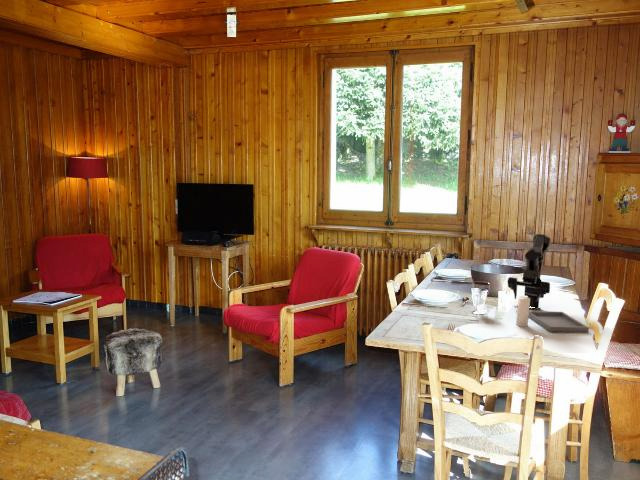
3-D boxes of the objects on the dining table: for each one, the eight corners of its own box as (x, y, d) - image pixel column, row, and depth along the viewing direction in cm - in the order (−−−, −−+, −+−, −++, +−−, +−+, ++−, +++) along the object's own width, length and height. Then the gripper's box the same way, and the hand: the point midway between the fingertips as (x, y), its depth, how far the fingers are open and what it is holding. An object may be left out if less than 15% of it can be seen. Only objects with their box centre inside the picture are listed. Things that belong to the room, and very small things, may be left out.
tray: (526, 316, 278) (526, 311, 278) (561, 316, 280) (562, 311, 279) (549, 332, 255) (550, 327, 254) (588, 332, 256) (588, 327, 256)
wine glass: (486, 316, 276) (489, 285, 274) (469, 313, 279) (472, 283, 276) (488, 311, 283) (490, 282, 281) (471, 309, 286) (474, 280, 284)
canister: (514, 323, 266) (516, 296, 264) (524, 323, 266) (527, 296, 264) (518, 326, 261) (521, 299, 259) (529, 327, 261) (532, 299, 259)
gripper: (510, 260, 272) (503, 287, 264) (551, 265, 263) (546, 293, 255) (511, 273, 280) (505, 300, 272) (552, 279, 271) (546, 306, 264)
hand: (525, 300), depth 266 cm, fingers open, 9 cm apart
